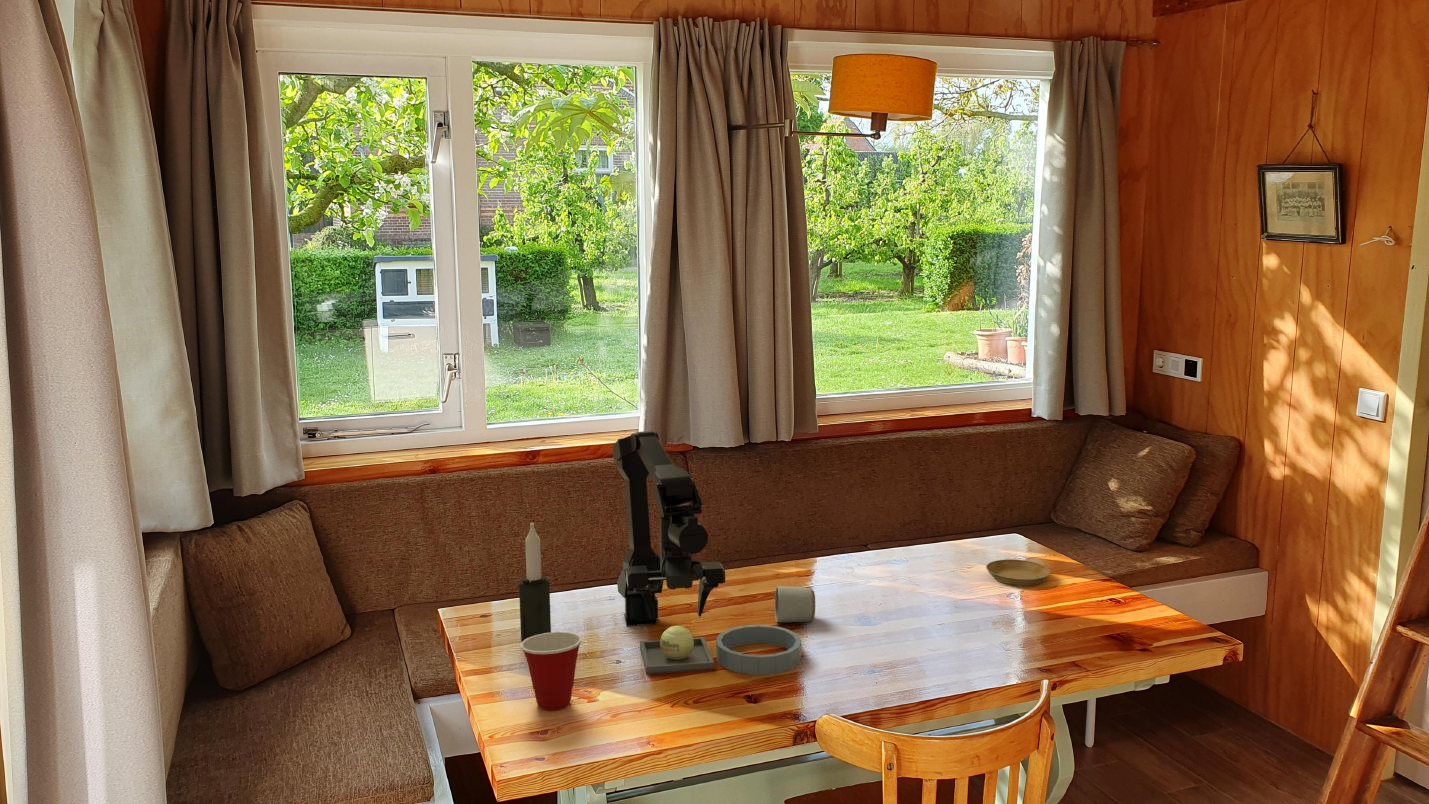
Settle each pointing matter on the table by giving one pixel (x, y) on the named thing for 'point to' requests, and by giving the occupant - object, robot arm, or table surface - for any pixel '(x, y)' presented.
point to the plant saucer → (1018, 572)
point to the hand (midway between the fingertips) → (676, 617)
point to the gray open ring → (758, 662)
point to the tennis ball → (676, 642)
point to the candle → (534, 592)
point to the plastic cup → (552, 667)
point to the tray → (662, 664)
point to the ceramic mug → (794, 604)
